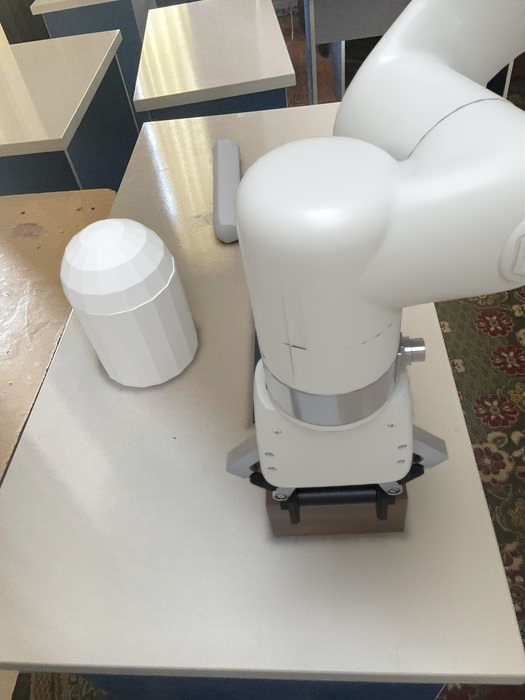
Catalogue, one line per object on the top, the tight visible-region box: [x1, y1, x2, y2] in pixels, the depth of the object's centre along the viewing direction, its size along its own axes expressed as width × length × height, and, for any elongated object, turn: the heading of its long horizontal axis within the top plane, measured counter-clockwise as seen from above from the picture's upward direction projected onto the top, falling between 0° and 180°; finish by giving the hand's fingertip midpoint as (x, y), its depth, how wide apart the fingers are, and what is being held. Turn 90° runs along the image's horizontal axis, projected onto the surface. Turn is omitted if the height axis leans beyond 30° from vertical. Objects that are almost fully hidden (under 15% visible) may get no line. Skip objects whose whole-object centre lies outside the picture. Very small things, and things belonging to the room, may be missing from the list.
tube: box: [211, 138, 242, 244], centre depth 96 cm, size 5×5×25 cm
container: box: [59, 218, 199, 389], centre depth 70 cm, size 14×13×20 cm
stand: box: [265, 483, 409, 538], centre depth 59 cm, size 14×13×7 cm
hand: (337, 504), depth 45 cm, fingers closed on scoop, 6 cm apart
